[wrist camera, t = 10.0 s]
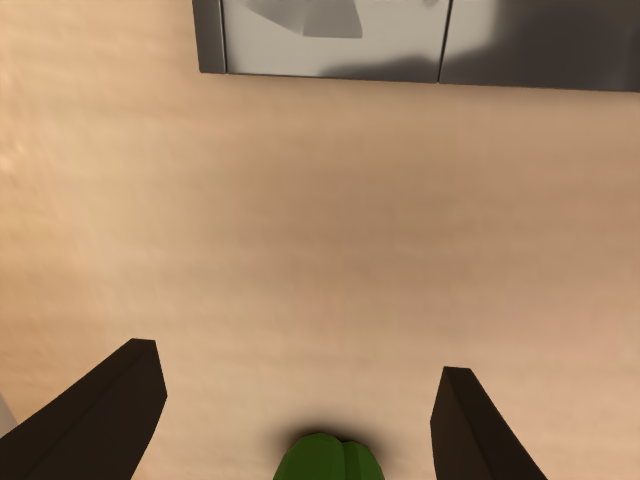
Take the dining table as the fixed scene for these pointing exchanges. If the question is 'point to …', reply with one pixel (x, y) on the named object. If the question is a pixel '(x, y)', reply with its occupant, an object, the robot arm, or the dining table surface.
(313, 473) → the bell pepper
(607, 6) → the dark grey flat block
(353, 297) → the dining table surface
